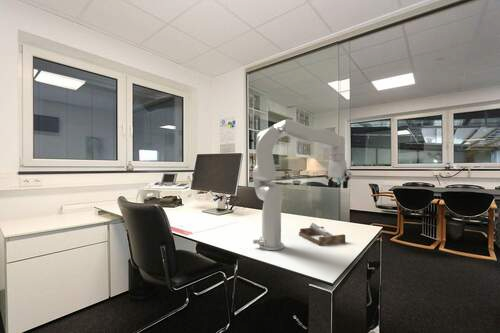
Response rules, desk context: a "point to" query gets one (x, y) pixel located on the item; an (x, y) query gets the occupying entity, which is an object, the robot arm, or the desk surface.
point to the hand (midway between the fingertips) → (337, 187)
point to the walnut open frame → (322, 240)
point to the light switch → (320, 230)
